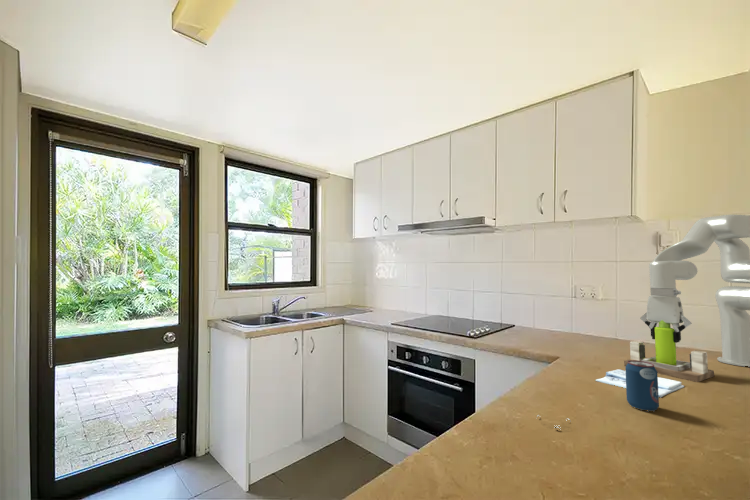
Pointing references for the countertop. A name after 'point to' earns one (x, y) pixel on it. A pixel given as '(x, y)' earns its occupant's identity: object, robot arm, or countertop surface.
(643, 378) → the soda can
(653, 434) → the countertop surface
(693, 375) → the rail
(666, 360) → the soap dispenser
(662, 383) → the folded white towel
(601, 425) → the countertop surface
